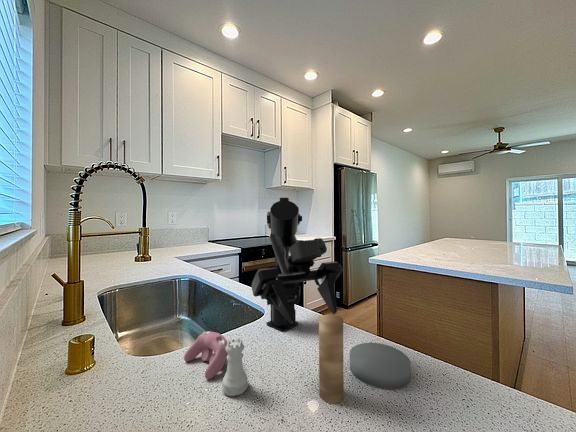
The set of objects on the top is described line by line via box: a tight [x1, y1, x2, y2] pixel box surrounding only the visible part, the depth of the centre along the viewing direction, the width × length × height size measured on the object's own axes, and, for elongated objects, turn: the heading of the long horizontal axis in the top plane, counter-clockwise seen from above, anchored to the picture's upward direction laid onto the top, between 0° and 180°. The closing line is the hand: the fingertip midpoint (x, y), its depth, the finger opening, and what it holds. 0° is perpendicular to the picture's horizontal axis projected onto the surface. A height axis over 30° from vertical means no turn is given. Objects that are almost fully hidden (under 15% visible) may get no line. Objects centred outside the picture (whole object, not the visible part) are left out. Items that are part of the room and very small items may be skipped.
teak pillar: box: [318, 314, 345, 404], centre depth 42 cm, size 4×4×12 cm
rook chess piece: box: [221, 338, 249, 397], centre depth 43 cm, size 4×4×8 cm
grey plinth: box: [349, 342, 412, 390], centre depth 49 cm, size 11×11×2 cm
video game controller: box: [183, 331, 228, 380], centre depth 51 cm, size 10×5×7 cm, turn 47°
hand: (314, 317), depth 46 cm, fingers open, 9 cm apart
